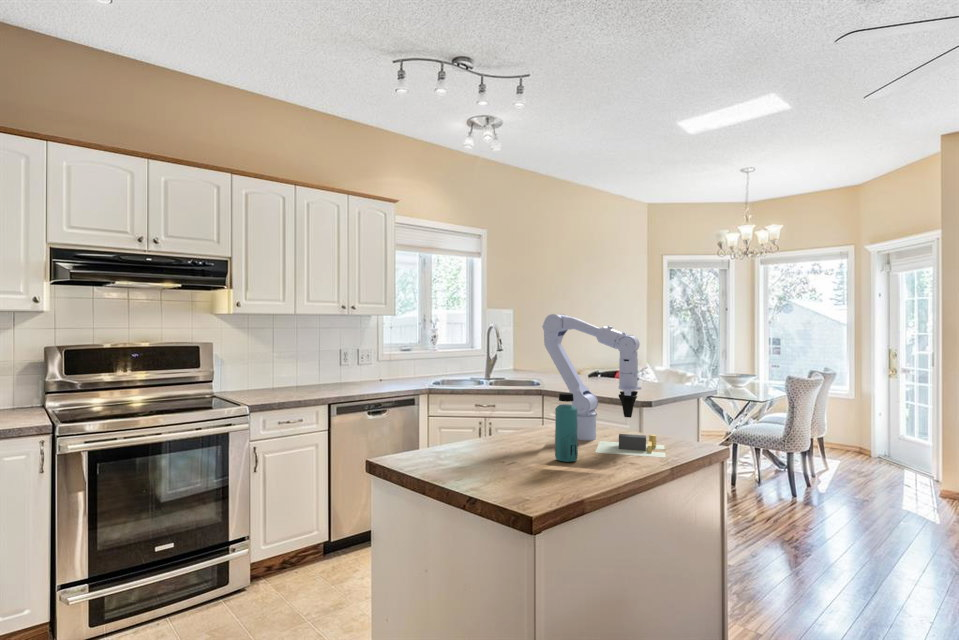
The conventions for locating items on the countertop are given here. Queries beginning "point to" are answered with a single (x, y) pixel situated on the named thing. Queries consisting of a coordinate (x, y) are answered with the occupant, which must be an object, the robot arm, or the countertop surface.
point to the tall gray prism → (632, 442)
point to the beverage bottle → (566, 429)
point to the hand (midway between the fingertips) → (628, 415)
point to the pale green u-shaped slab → (614, 449)
